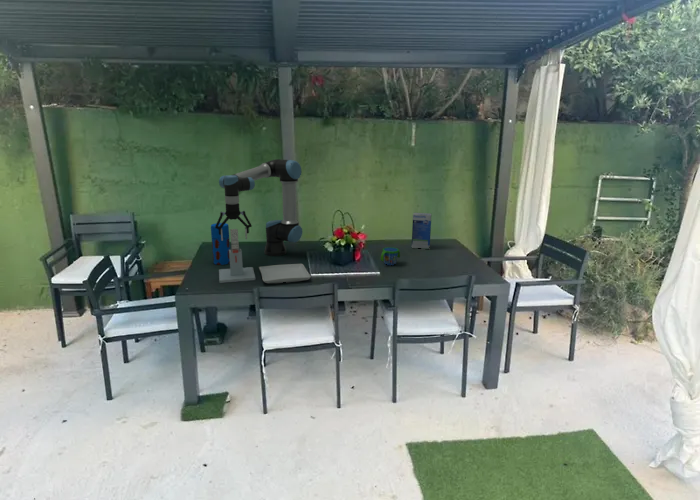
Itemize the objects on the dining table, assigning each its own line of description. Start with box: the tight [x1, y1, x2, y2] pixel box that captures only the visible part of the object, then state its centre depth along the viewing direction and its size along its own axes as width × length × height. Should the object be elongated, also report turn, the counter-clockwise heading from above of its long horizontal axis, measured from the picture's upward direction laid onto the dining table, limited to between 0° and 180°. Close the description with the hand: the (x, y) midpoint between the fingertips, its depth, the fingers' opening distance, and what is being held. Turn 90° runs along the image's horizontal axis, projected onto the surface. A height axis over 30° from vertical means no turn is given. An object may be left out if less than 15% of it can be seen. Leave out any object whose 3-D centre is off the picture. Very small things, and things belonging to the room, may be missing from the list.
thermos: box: [210, 222, 231, 266], centre depth 282 cm, size 11×11×25 cm
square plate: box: [258, 263, 311, 284], centre depth 261 cm, size 27×27×4 cm
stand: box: [218, 248, 256, 284], centre depth 259 cm, size 20×20×16 cm
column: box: [229, 228, 240, 252], centre depth 257 cm, size 4×4×26 cm
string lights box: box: [411, 212, 432, 249], centre depth 322 cm, size 13×8×26 cm, turn 77°
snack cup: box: [380, 246, 401, 266], centre depth 286 cm, size 16×10×10 cm
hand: (234, 239), depth 255 cm, fingers open, 13 cm apart
